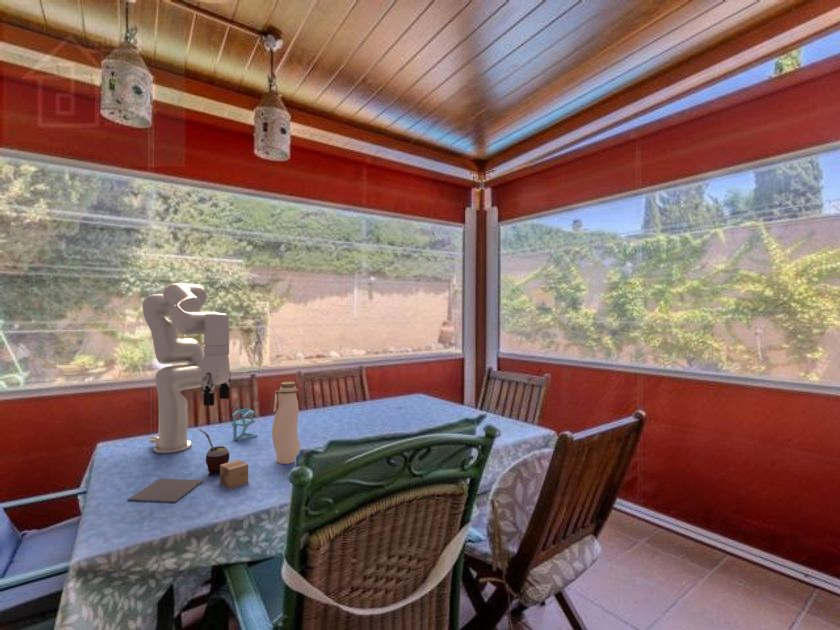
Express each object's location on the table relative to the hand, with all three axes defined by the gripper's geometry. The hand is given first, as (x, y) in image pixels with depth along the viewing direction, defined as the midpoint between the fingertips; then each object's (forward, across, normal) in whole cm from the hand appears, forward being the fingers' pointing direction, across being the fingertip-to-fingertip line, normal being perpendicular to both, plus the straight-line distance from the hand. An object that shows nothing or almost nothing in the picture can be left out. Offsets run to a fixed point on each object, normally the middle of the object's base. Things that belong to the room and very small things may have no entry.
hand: (216, 401), depth 140 cm
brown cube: (+24, +7, +9) cm, 27 cm away
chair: (+24, -35, -7) cm, 43 cm away
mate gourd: (+24, 0, 0) cm, 24 cm away
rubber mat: (+24, +14, -8) cm, 29 cm away
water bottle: (+24, -13, +18) cm, 33 cm away
